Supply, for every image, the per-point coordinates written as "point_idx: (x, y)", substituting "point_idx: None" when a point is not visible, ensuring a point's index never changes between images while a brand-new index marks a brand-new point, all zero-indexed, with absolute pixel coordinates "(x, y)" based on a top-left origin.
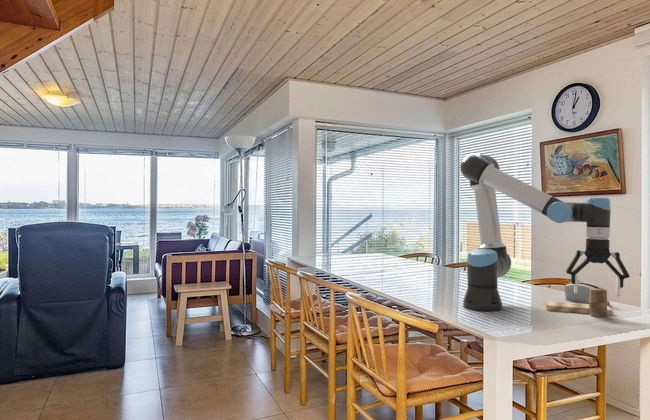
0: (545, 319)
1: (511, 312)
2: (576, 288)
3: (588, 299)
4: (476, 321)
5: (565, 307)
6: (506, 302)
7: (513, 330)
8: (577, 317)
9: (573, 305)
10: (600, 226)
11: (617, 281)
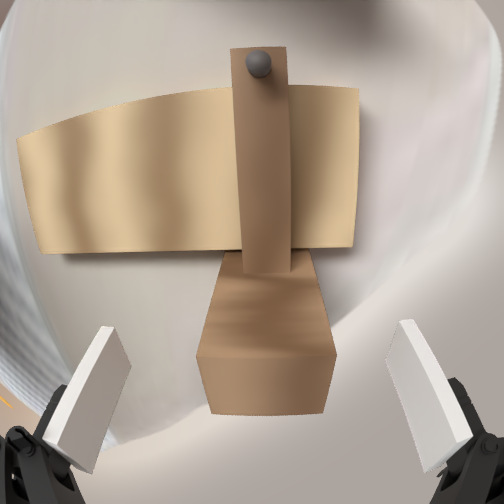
0: None
1: (9, 314)
2: (115, 393)
3: (232, 65)
4: (26, 394)
5: (106, 250)
6: None
7: None
8: (175, 331)
9: (136, 197)
10: None
11: (421, 453)
